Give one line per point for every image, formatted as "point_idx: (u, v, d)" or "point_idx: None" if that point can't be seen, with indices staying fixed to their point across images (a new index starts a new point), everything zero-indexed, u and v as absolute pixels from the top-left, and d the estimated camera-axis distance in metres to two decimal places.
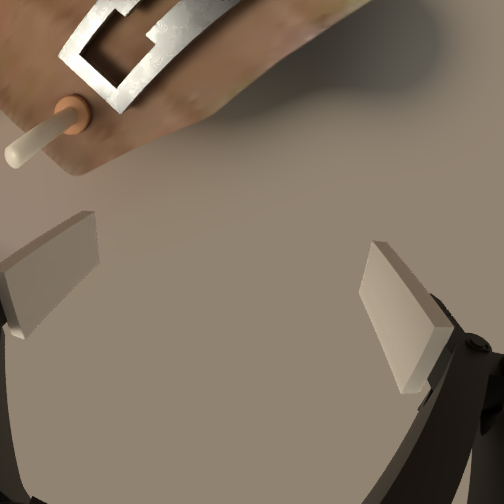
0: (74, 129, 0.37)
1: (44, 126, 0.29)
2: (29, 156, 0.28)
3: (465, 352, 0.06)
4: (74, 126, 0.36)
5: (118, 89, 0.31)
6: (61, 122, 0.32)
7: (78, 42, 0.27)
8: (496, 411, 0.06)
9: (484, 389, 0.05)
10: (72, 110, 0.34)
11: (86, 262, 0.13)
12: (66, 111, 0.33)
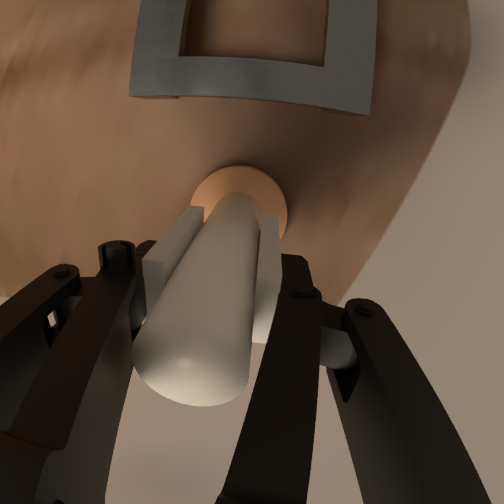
0: None
1: (216, 231, 0.12)
2: (251, 330, 0.09)
3: (289, 302, 0.08)
4: None
5: (329, 65, 0.14)
6: (247, 215, 0.15)
7: (161, 37, 0.13)
8: (356, 371, 0.09)
9: (318, 333, 0.07)
10: (239, 194, 0.18)
11: None
12: (230, 199, 0.17)
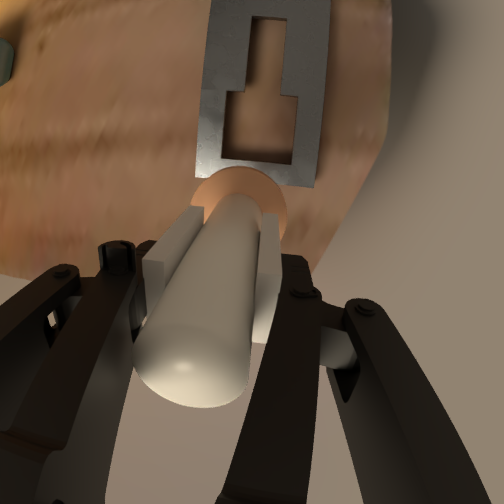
0: None
1: (216, 233, 0.12)
2: (251, 332, 0.09)
3: (289, 302, 0.08)
4: None
5: (294, 164, 0.32)
6: (246, 216, 0.15)
7: (211, 147, 0.32)
8: (356, 371, 0.09)
9: (318, 333, 0.07)
10: (239, 196, 0.18)
11: None
12: (230, 200, 0.17)
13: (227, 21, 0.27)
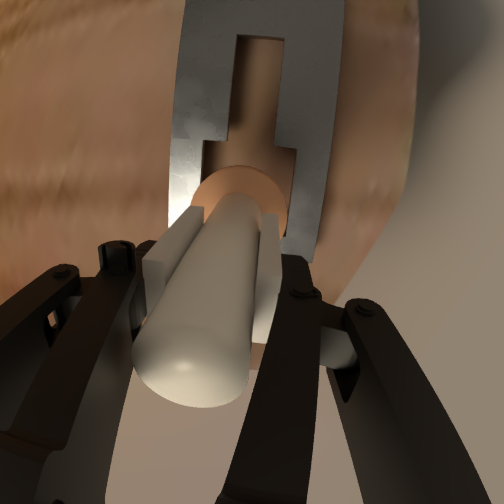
0: None
1: (216, 232, 0.12)
2: (251, 331, 0.09)
3: (289, 302, 0.08)
4: None
5: (288, 235, 0.27)
6: (246, 216, 0.15)
7: None
8: (356, 371, 0.09)
9: (318, 333, 0.07)
10: (239, 195, 0.18)
11: None
12: (230, 199, 0.17)
13: (204, 43, 0.21)
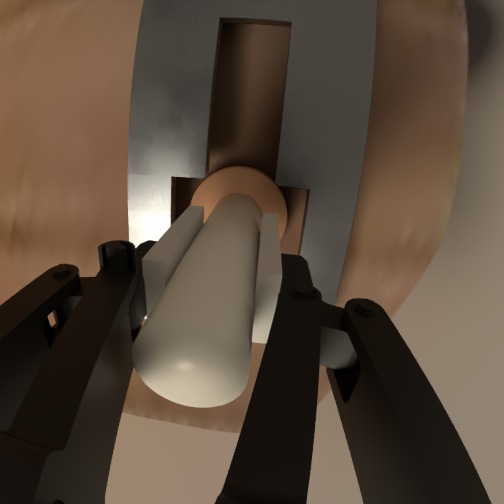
0: None
1: (216, 232, 0.12)
2: (251, 331, 0.09)
3: (289, 302, 0.08)
4: None
5: None
6: (246, 216, 0.15)
7: None
8: (356, 371, 0.09)
9: (318, 333, 0.07)
10: (239, 195, 0.18)
11: None
12: (230, 199, 0.17)
13: (172, 32, 0.13)
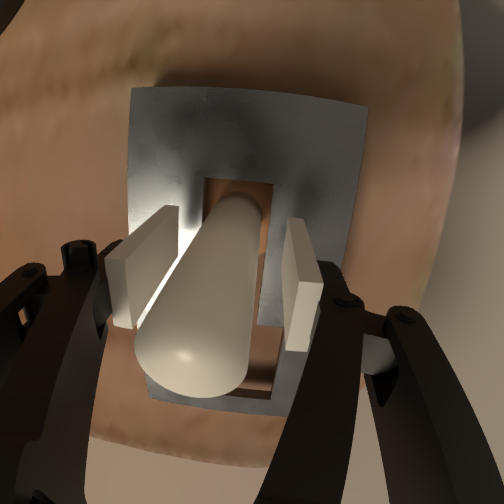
0: None
1: (216, 229, 0.12)
2: (251, 323, 0.09)
3: (333, 310, 0.08)
4: (262, 229, 0.20)
5: (273, 398, 0.23)
6: (246, 213, 0.15)
7: None
8: (393, 377, 0.08)
9: (360, 343, 0.07)
10: (239, 193, 0.18)
11: (171, 254, 0.15)
12: (230, 197, 0.17)
13: (159, 189, 0.17)
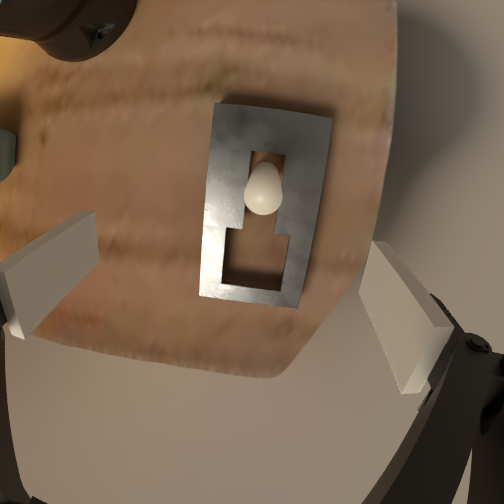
0: None
1: (263, 167, 0.29)
2: None
3: (465, 352, 0.06)
4: None
5: (282, 290, 0.40)
6: (273, 166, 0.32)
7: (213, 274, 0.39)
8: (496, 411, 0.06)
9: (484, 389, 0.05)
10: (267, 160, 0.35)
11: (86, 262, 0.13)
12: (263, 161, 0.34)
13: (227, 155, 0.33)
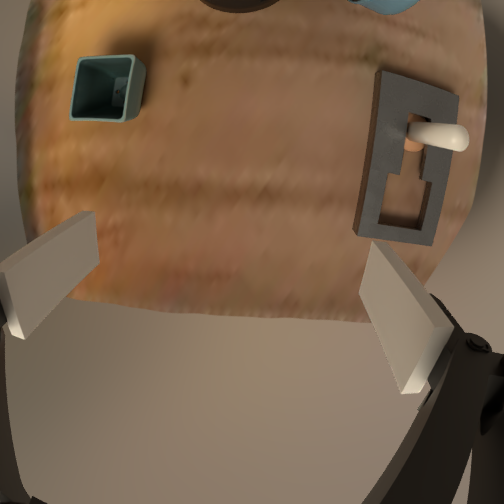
0: None
1: None
2: None
3: (465, 352, 0.06)
4: None
5: (422, 230, 0.42)
6: None
7: (372, 214, 0.42)
8: (496, 411, 0.06)
9: (484, 389, 0.05)
10: (415, 122, 0.37)
11: (86, 262, 0.13)
12: (416, 121, 0.36)
13: (392, 113, 0.36)
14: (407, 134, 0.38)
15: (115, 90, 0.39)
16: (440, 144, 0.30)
